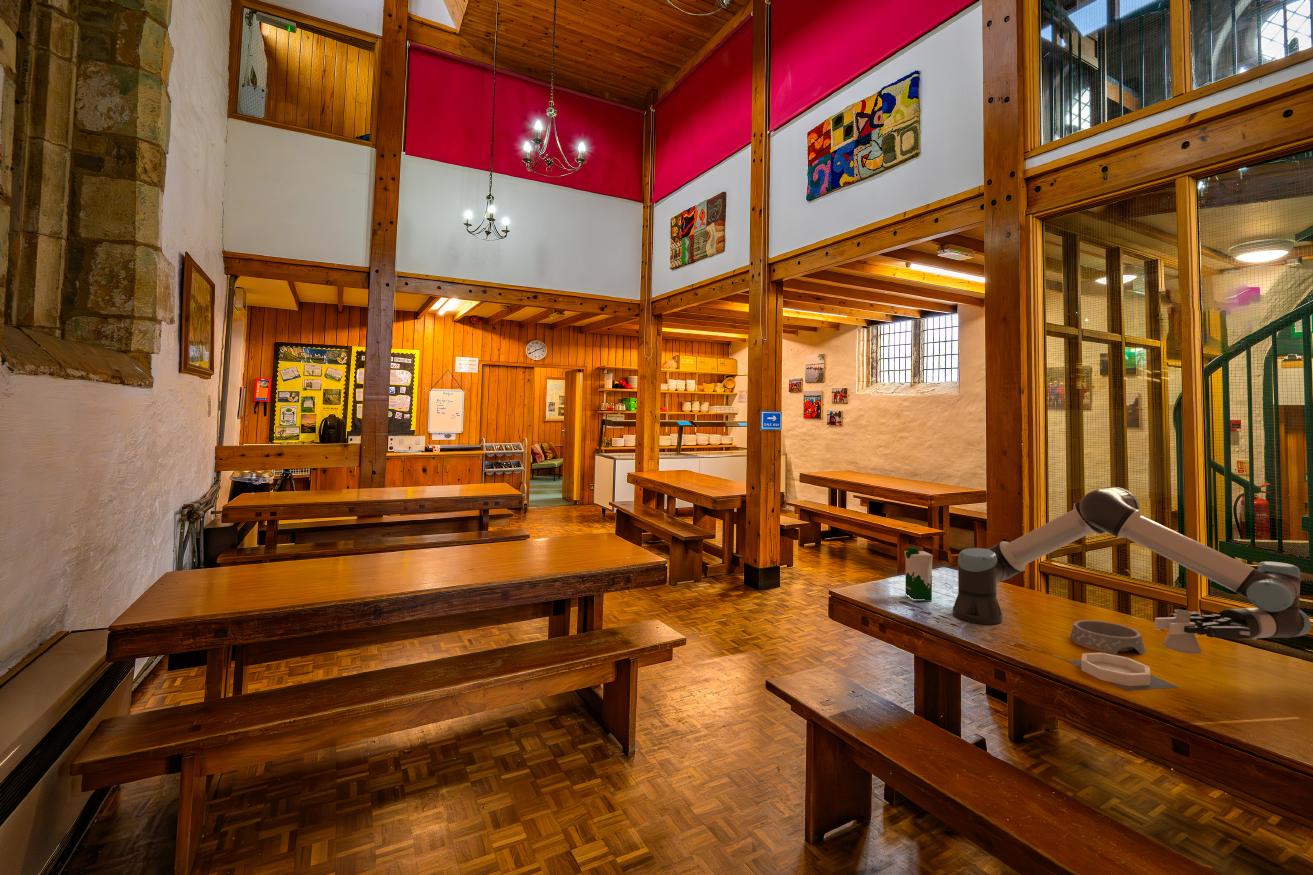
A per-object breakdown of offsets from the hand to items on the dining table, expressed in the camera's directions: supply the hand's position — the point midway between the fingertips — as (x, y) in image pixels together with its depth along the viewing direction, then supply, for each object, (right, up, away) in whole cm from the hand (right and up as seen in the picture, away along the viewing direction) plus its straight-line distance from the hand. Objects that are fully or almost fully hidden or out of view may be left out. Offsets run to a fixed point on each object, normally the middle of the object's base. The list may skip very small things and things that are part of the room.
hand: (1163, 625), depth 145 cm
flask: (+5, -7, +1) cm, 8 cm away
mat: (-7, -15, +5) cm, 17 cm away
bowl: (-9, -14, +4) cm, 17 cm away
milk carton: (-29, -14, +73) cm, 80 cm away
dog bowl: (+6, -15, +26) cm, 30 cm away
